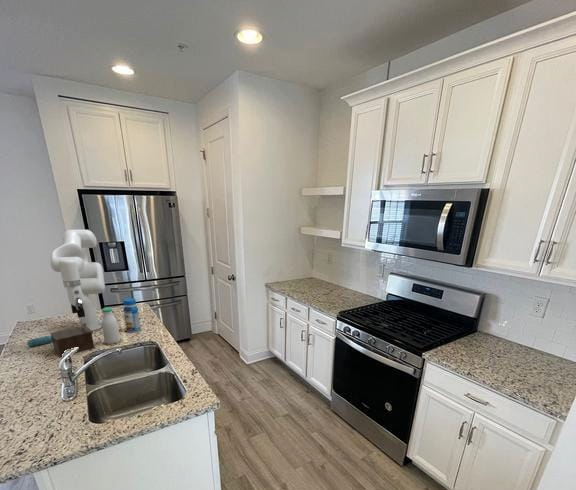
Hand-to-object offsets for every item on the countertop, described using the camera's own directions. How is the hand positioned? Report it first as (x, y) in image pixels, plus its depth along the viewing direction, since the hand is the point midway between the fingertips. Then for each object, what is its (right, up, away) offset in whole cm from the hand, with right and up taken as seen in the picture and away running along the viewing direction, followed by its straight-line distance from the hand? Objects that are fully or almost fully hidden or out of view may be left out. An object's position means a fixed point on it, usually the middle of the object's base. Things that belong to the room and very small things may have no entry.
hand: (78, 314), depth 165 cm
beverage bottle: (+15, -9, +30) cm, 34 cm away
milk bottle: (+11, -15, +12) cm, 23 cm away
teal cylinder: (-25, -16, +6) cm, 31 cm away
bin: (-4, -18, +2) cm, 19 cm away
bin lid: (-3, -10, -1) cm, 11 cm away
